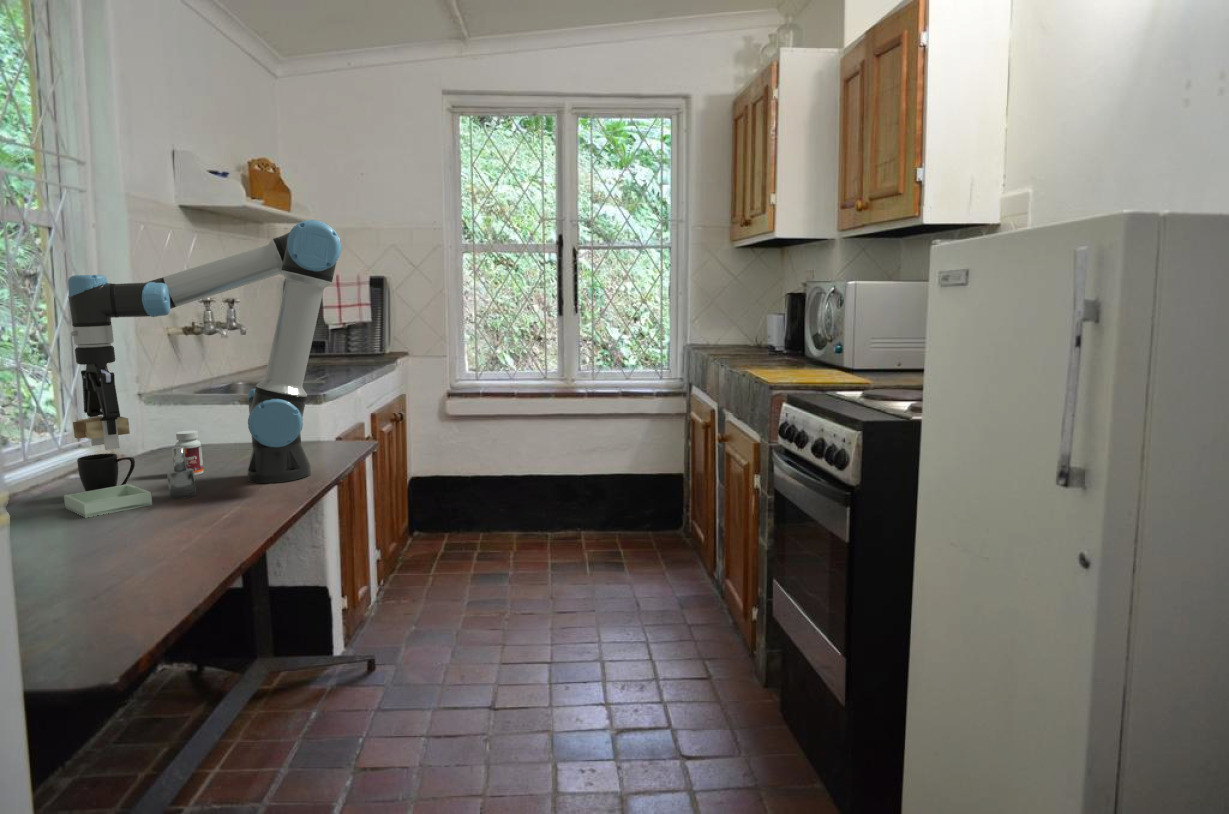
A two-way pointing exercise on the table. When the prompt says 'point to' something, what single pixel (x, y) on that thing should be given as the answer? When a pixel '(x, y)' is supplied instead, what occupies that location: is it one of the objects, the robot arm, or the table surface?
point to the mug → (101, 471)
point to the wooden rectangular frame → (97, 427)
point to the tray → (107, 500)
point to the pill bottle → (191, 450)
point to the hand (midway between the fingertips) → (105, 446)
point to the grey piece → (180, 476)
